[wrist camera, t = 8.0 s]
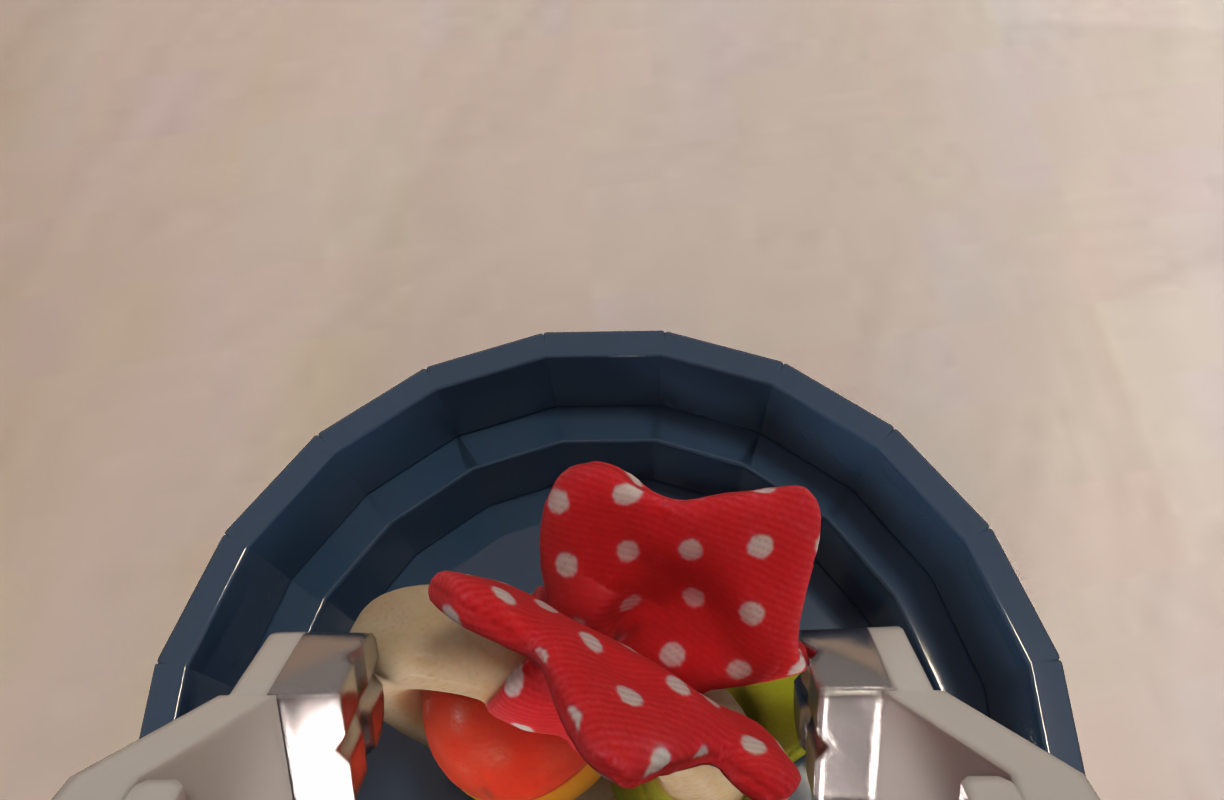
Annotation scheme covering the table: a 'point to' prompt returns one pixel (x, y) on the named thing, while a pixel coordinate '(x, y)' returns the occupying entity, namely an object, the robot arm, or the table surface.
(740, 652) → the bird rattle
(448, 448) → the bowl
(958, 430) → the table surface
